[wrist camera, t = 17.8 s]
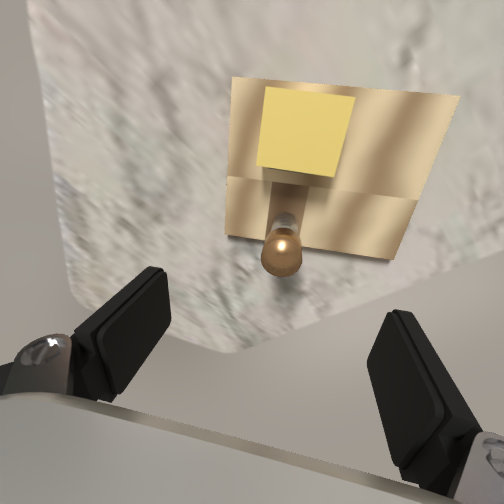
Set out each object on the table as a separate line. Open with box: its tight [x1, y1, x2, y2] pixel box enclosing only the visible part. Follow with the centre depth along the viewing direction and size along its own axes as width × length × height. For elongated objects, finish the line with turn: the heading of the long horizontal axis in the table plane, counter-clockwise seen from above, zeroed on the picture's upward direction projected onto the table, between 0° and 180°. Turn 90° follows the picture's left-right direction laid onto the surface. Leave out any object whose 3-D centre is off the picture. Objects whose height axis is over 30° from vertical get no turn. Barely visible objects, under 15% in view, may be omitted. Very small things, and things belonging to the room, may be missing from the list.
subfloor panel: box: [225, 77, 461, 260], centre depth 26 cm, size 20×16×1 cm
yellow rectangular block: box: [256, 86, 356, 177], centre depth 22 cm, size 7×6×4 cm
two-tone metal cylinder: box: [261, 212, 302, 277], centre depth 24 cm, size 3×3×9 cm
